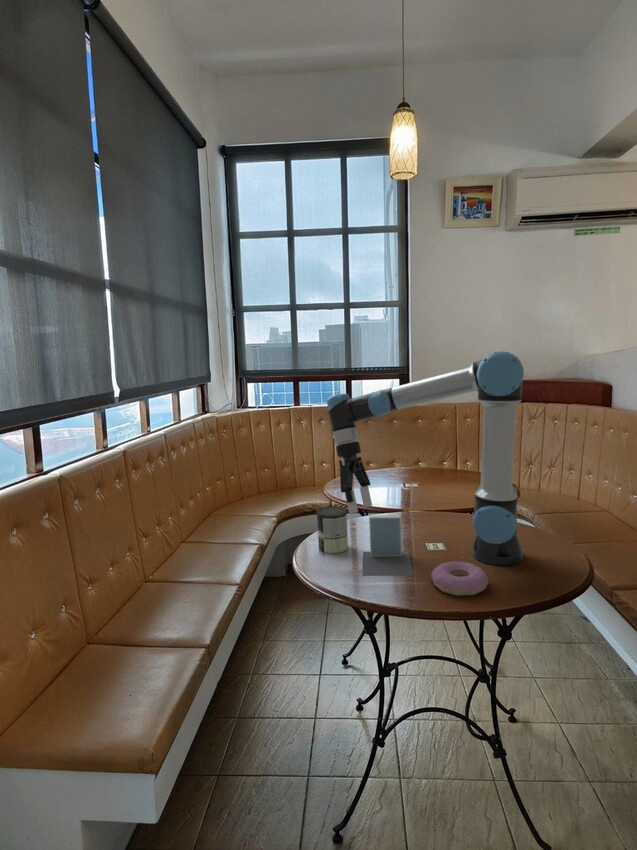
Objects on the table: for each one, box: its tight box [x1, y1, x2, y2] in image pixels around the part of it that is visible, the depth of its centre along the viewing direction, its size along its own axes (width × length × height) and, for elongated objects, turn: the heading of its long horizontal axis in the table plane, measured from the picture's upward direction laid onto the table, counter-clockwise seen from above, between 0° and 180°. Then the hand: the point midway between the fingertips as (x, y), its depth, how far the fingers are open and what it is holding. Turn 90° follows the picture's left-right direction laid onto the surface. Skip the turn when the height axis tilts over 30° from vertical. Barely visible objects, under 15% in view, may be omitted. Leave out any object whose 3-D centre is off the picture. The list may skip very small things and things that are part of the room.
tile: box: [368, 514, 403, 556], centre depth 164 cm, size 10×3×13 cm, turn 84°
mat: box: [361, 550, 415, 577], centre depth 158 cm, size 15×19×1 cm
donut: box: [430, 561, 489, 597], centre depth 142 cm, size 16×15×5 cm
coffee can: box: [316, 506, 349, 556], centre depth 172 cm, size 10×10×14 cm
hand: (361, 509), depth 157 cm, fingers open, 13 cm apart
